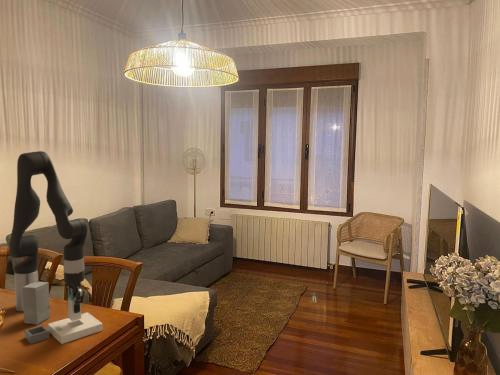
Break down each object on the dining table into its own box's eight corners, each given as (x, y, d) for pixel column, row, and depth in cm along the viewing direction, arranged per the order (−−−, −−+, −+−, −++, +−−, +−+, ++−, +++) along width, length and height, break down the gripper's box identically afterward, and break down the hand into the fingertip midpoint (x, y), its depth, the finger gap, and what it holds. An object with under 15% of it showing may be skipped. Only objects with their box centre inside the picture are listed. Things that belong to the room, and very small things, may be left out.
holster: (25, 337, 152) (24, 330, 151) (43, 332, 156) (43, 324, 156) (30, 344, 147) (30, 336, 147) (49, 338, 152) (49, 330, 152)
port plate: (48, 330, 157) (47, 323, 157) (87, 318, 169) (87, 312, 169) (61, 344, 148) (61, 336, 147) (102, 330, 159) (102, 323, 159)
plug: (68, 318, 158) (68, 294, 156) (77, 315, 160) (77, 292, 159) (72, 321, 155) (71, 296, 154) (81, 318, 158) (80, 294, 157)
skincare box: (37, 325, 162) (36, 288, 160) (22, 323, 163) (20, 286, 161) (51, 316, 170) (50, 281, 168) (37, 314, 171) (35, 279, 169)
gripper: (57, 267, 158) (58, 308, 160) (71, 276, 148) (72, 319, 150) (76, 263, 163) (77, 303, 165) (91, 271, 153) (91, 313, 155)
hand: (74, 310), depth 157 cm, fingers closed on plug, 3 cm apart
